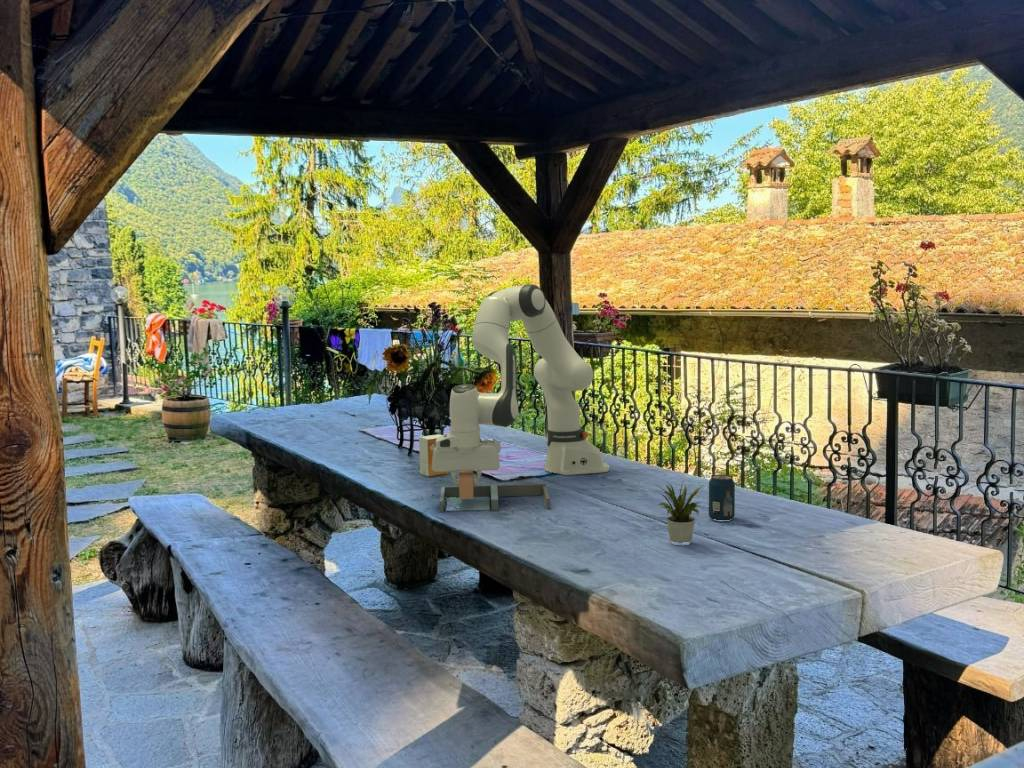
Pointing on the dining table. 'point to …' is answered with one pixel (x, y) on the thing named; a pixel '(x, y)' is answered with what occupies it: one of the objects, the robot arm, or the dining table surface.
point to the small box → (428, 455)
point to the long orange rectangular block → (466, 484)
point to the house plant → (680, 515)
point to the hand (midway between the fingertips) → (466, 485)
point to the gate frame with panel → (491, 495)
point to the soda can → (721, 497)
